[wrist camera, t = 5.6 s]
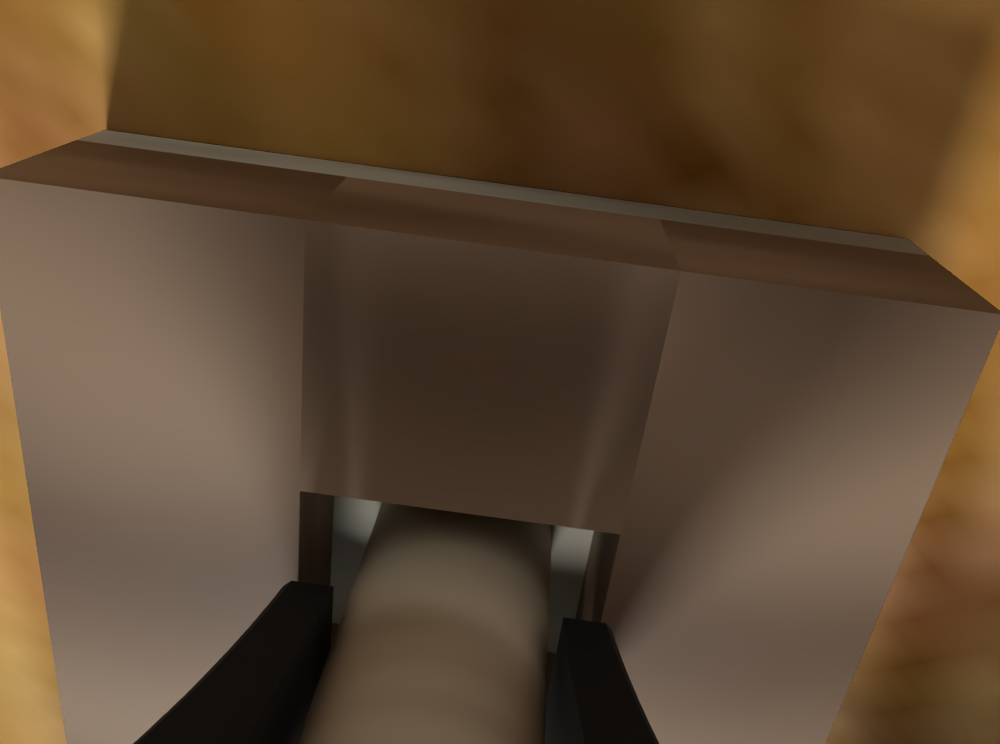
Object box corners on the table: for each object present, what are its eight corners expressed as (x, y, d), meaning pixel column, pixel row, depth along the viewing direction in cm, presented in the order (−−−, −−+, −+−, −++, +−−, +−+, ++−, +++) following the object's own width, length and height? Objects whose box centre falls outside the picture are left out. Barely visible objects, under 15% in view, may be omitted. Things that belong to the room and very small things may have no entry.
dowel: (540, 618, 15) (516, 1093, 9) (372, 595, 15) (229, 1052, 9) (563, 476, 14) (556, 917, 7) (379, 452, 14) (215, 869, 7)
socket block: (717, 783, 18) (746, 931, 15) (153, 708, 18) (81, 841, 15) (907, 238, 12) (1005, 315, 10) (104, 130, 12) (-20, 175, 10)
